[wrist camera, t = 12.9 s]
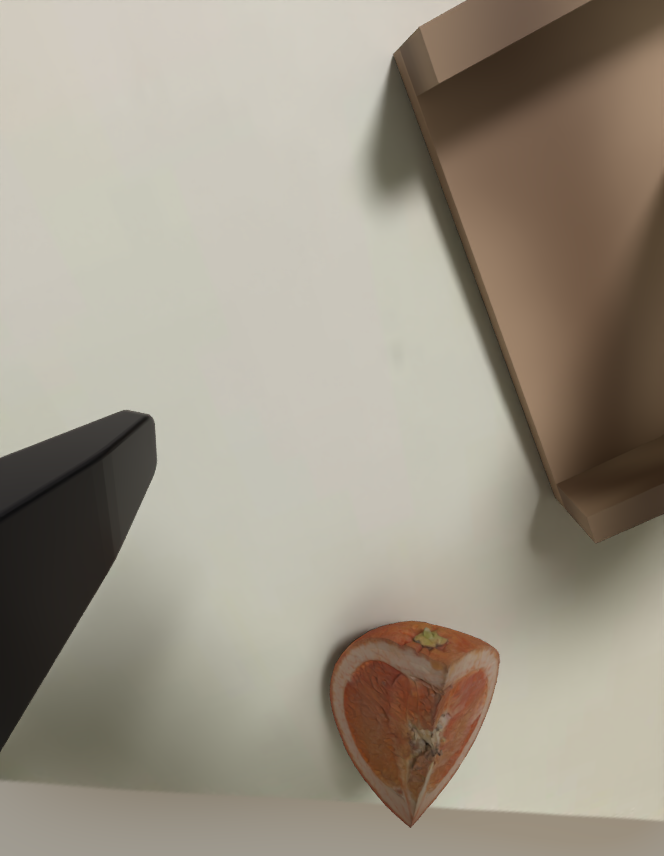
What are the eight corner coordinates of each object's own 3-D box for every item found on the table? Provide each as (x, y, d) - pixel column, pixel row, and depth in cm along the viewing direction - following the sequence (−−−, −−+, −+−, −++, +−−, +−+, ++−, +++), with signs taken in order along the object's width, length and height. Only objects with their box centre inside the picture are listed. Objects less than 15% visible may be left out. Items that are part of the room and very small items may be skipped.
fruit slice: (340, 568, 22) (357, 669, 18) (500, 574, 23) (556, 670, 18) (318, 717, 25) (328, 833, 21) (459, 716, 26) (498, 828, 22)
